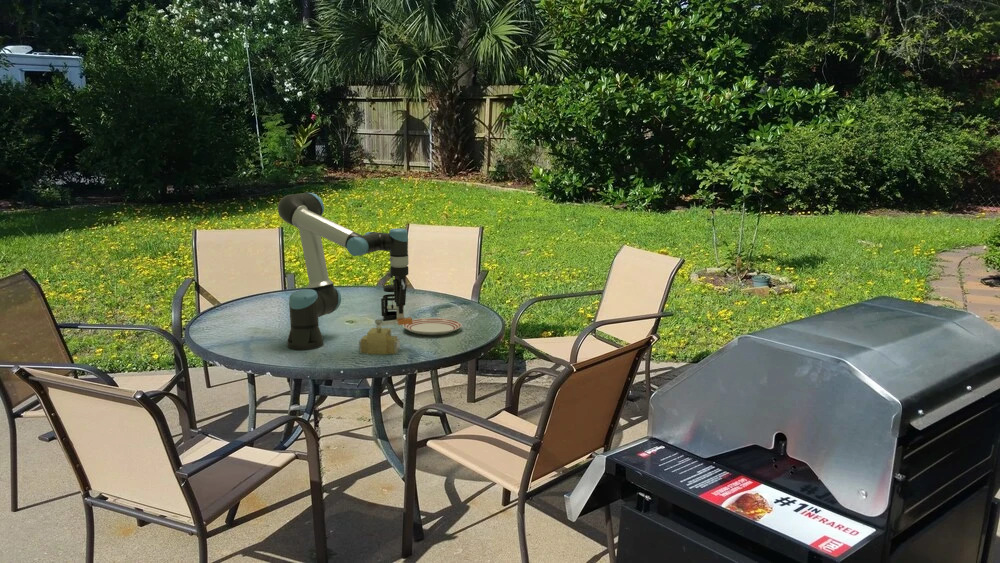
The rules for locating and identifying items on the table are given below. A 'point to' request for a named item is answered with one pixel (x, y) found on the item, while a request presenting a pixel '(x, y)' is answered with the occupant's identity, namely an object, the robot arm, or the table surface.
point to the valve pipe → (379, 342)
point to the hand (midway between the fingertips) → (400, 320)
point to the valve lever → (393, 322)
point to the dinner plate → (432, 326)
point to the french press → (384, 307)
